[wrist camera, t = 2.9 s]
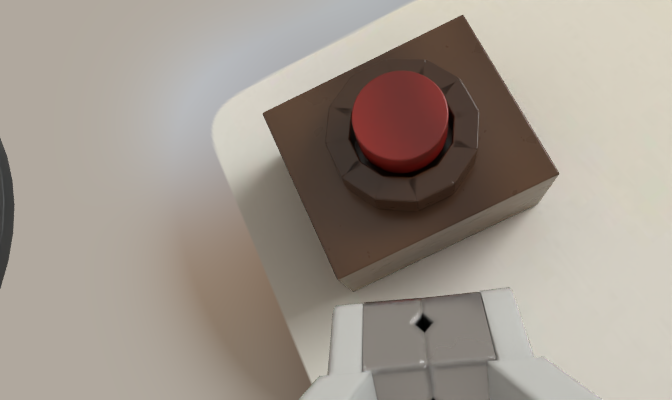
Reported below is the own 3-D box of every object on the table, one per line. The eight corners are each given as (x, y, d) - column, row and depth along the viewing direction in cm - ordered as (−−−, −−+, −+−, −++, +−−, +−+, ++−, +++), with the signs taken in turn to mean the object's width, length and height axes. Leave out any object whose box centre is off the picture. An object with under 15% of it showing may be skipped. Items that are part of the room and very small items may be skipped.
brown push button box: (352, 292, 35) (331, 275, 27) (287, 149, 38) (250, 97, 30) (538, 203, 34) (569, 160, 27) (458, 65, 37) (465, -8, 30)
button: (380, 189, 28) (376, 176, 26) (342, 113, 30) (336, 96, 28) (463, 148, 28) (466, 133, 26) (421, 74, 29) (421, 54, 27)
